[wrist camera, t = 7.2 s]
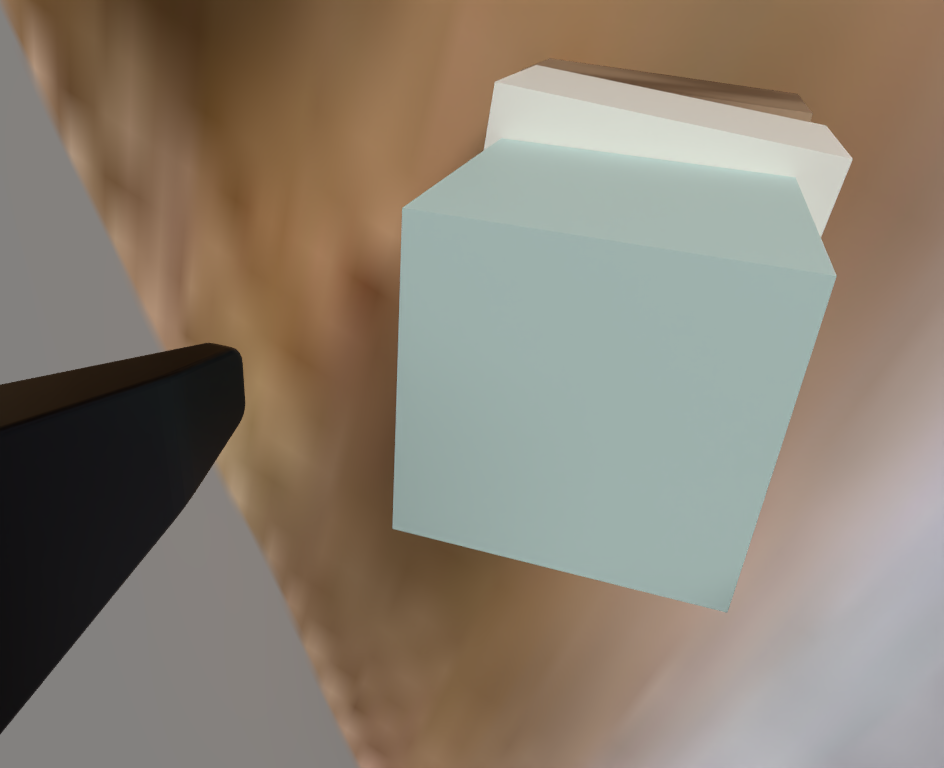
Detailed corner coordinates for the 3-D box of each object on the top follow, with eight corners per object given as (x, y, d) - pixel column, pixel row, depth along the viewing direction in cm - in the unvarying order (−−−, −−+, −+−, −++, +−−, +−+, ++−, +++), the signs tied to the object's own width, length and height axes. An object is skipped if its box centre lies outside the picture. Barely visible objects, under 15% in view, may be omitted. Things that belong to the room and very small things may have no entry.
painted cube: (795, 177, 12) (836, 275, 8) (723, 433, 15) (727, 612, 11) (501, 138, 14) (402, 207, 9) (479, 383, 16) (392, 528, 12)
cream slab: (826, 125, 15) (852, 158, 12) (728, 383, 18) (730, 461, 15) (536, 64, 16) (495, 81, 13) (488, 318, 19) (446, 379, 16)
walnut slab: (797, 92, 18) (812, 113, 15) (729, 322, 21) (730, 376, 18) (551, 57, 19) (520, 70, 16) (519, 279, 22) (488, 324, 19)
